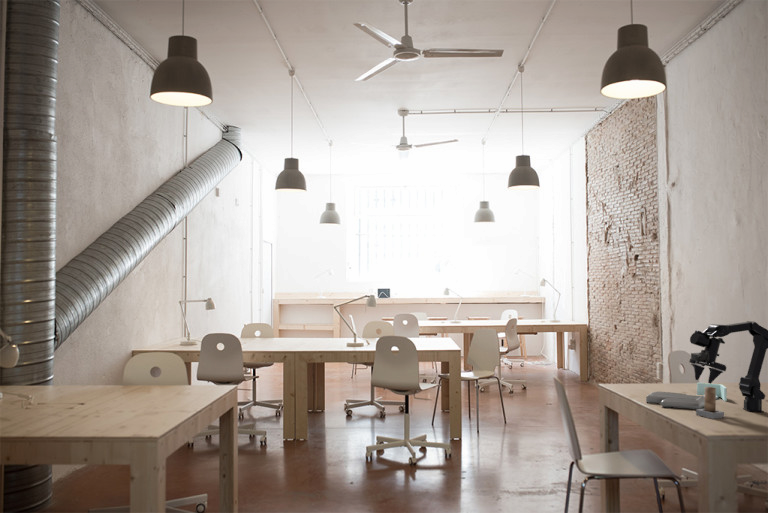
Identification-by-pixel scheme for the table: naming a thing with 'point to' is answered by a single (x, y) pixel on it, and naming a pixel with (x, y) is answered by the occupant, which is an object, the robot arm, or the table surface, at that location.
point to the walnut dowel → (710, 399)
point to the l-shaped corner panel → (720, 389)
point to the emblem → (676, 400)
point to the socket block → (709, 414)
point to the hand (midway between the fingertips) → (702, 381)
